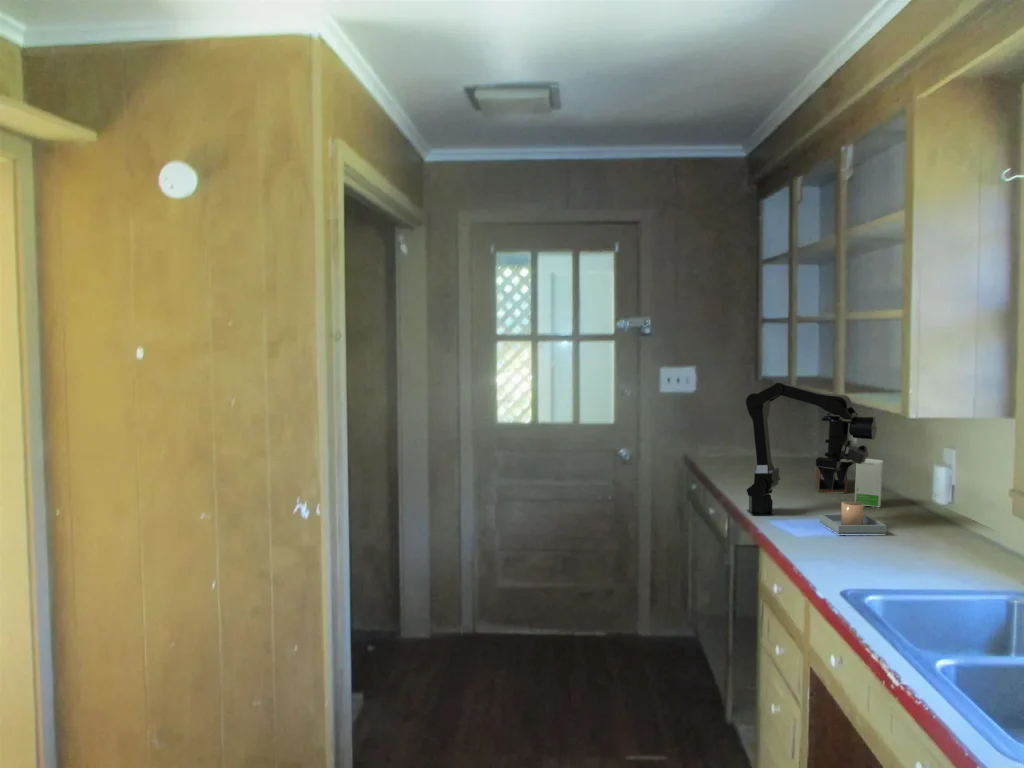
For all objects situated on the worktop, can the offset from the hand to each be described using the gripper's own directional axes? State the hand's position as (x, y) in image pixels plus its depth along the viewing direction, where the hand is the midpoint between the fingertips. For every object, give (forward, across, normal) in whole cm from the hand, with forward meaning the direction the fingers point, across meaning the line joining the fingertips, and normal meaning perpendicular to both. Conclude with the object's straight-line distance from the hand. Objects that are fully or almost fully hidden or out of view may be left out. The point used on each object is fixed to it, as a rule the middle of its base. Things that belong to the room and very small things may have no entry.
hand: (835, 486), depth 241 cm
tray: (+12, -3, -6) cm, 14 cm away
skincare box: (+12, +33, +1) cm, 35 cm away
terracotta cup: (+11, -3, -6) cm, 13 cm away
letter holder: (+12, +53, +21) cm, 59 cm away
